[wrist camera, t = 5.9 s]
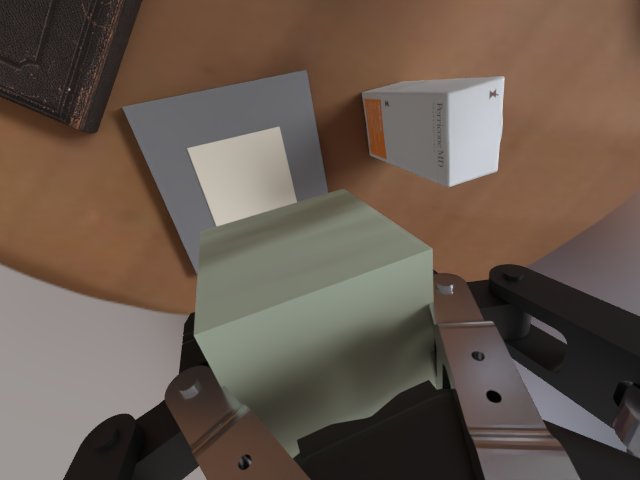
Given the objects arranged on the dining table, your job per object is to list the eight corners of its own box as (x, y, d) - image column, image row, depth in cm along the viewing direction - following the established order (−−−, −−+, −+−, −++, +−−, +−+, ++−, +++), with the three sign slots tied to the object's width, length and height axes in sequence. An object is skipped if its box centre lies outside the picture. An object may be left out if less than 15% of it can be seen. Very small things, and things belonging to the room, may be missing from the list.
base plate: (125, 106, 23) (121, 106, 22) (303, 70, 26) (306, 69, 25) (198, 271, 30) (197, 277, 29) (332, 229, 33) (335, 233, 32)
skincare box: (359, 92, 28) (446, 89, 17) (400, 81, 29) (508, 72, 18) (368, 158, 31) (448, 189, 20) (405, 146, 31) (501, 171, 21)
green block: (200, 231, 12) (193, 335, 7) (343, 188, 13) (432, 248, 8) (247, 342, 15) (267, 475, 9) (361, 298, 16) (435, 396, 11)
